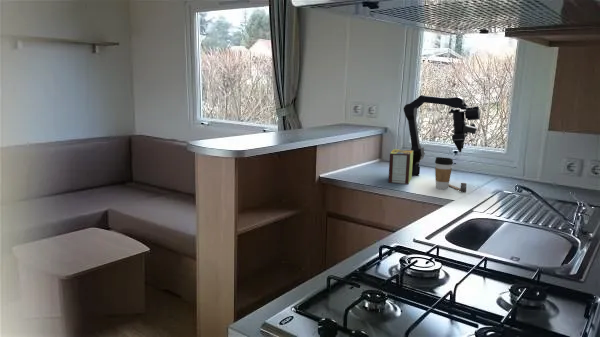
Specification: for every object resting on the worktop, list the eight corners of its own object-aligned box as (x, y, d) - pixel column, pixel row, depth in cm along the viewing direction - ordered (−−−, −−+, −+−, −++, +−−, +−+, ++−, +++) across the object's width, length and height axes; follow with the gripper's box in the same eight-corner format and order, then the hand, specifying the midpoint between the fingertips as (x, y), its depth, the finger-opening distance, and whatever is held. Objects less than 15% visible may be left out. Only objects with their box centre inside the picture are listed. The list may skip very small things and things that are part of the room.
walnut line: (467, 192, 220) (467, 183, 219) (462, 192, 219) (463, 184, 218) (444, 183, 238) (444, 175, 238) (439, 183, 238) (440, 175, 237)
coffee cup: (430, 186, 231) (432, 156, 228) (446, 186, 232) (449, 156, 229) (436, 190, 223) (439, 159, 220) (453, 190, 224) (456, 159, 221)
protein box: (411, 178, 248) (413, 150, 245) (408, 184, 234) (410, 154, 231) (392, 176, 251) (393, 148, 249) (387, 182, 237) (389, 152, 234)
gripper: (474, 122, 230) (476, 152, 233) (476, 117, 247) (478, 146, 250) (450, 124, 235) (452, 154, 238) (455, 119, 252) (457, 147, 255)
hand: (461, 150), depth 245 cm, fingers open, 9 cm apart
